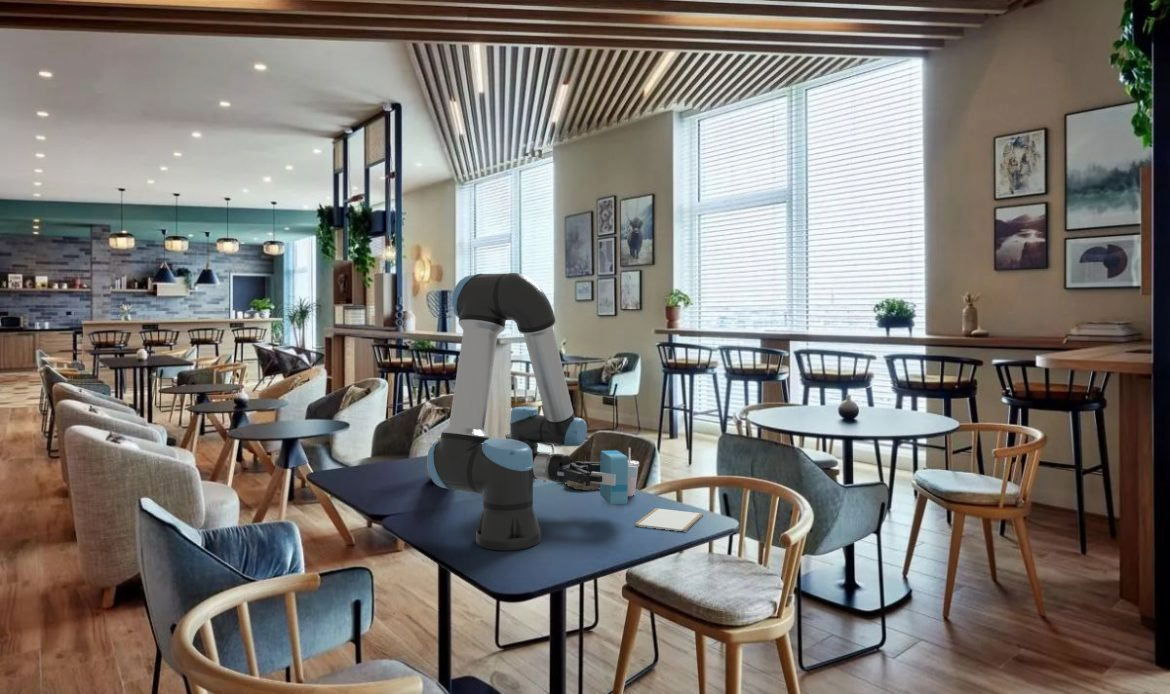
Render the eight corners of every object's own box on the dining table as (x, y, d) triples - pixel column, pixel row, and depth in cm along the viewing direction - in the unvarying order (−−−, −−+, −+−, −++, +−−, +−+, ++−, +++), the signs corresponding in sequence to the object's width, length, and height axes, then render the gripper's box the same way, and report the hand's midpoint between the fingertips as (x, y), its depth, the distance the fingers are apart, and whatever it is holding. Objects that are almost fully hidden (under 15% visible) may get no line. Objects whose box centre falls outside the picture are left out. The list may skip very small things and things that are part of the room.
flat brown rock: (553, 479, 235) (572, 492, 216) (553, 464, 235) (573, 476, 216) (594, 476, 240) (616, 489, 221) (594, 462, 240) (616, 473, 221)
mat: (685, 532, 176) (685, 529, 176) (635, 526, 181) (635, 523, 181) (703, 515, 190) (703, 513, 190) (656, 510, 195) (656, 507, 195)
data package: (627, 504, 180) (628, 456, 180) (610, 505, 179) (610, 457, 179) (616, 494, 192) (616, 449, 192) (599, 495, 191) (600, 449, 191)
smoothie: (627, 498, 208) (626, 450, 208) (613, 494, 213) (613, 447, 213) (643, 495, 212) (643, 447, 211) (629, 491, 217) (629, 444, 217)
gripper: (576, 474, 205) (645, 482, 194) (528, 489, 184) (603, 499, 173) (576, 447, 205) (646, 454, 194) (529, 459, 184) (604, 468, 173)
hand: (626, 475), depth 184 cm, fingers closed on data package, 12 cm apart
